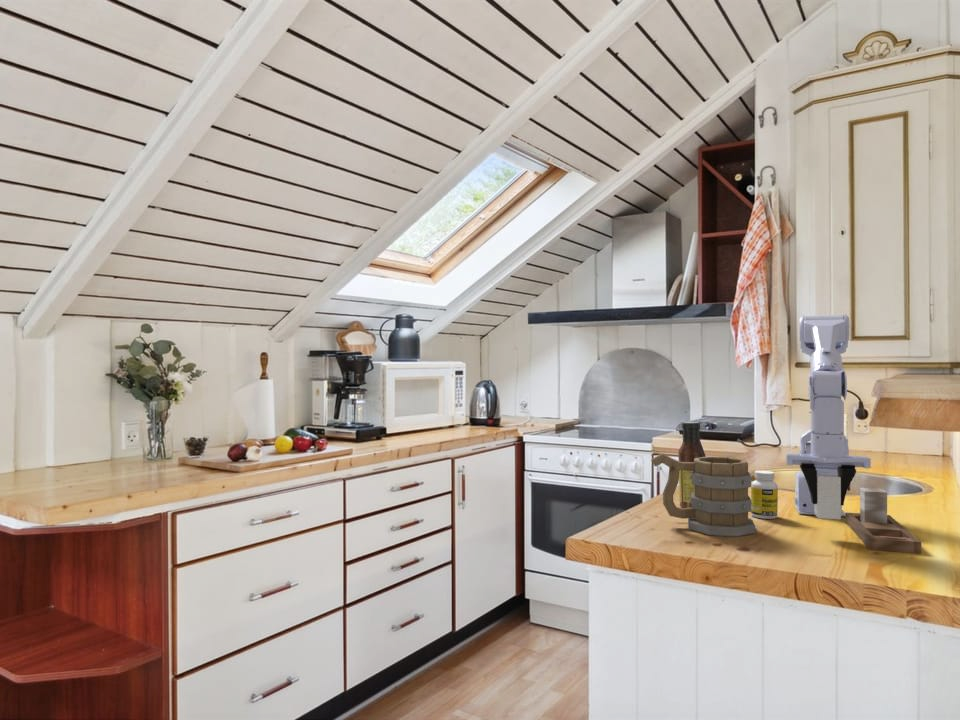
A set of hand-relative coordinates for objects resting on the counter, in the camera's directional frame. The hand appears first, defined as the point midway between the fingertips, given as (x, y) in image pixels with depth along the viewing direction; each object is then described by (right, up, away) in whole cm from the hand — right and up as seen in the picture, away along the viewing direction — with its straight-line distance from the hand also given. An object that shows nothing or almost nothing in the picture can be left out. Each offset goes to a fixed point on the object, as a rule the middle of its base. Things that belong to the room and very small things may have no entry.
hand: (827, 503), depth 135 cm
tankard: (-21, -7, +9) cm, 24 cm away
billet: (0, -2, 0) cm, 2 cm away
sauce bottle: (-18, -7, +27) cm, 33 cm away
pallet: (+11, -7, +1) cm, 13 cm away
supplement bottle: (-5, -7, +18) cm, 20 cm away
